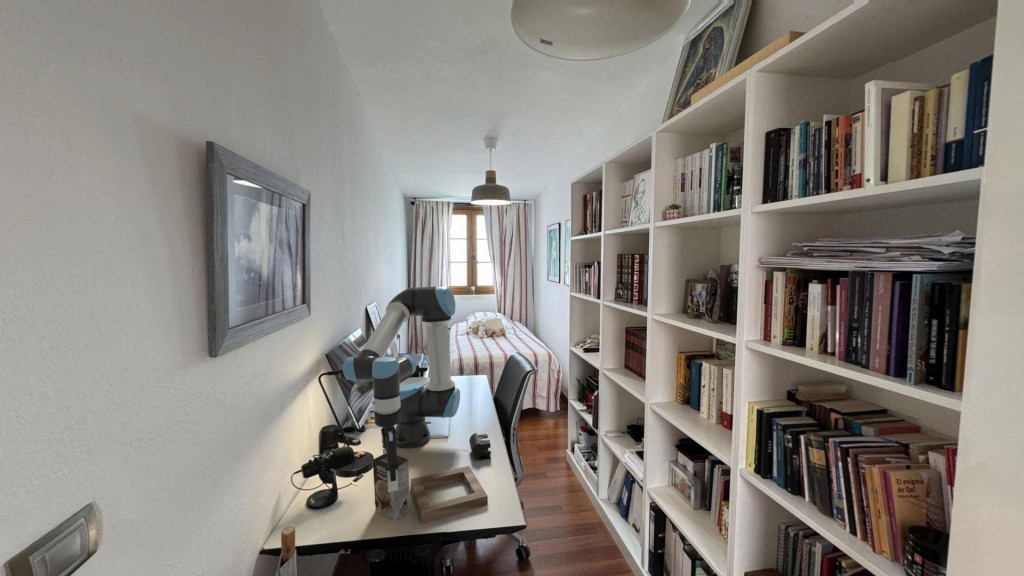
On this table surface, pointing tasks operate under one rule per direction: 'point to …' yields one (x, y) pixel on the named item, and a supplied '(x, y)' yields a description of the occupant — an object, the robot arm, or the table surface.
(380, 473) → the coffee box
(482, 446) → the end cap
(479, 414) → the table surface
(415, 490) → the walnut hole plate
